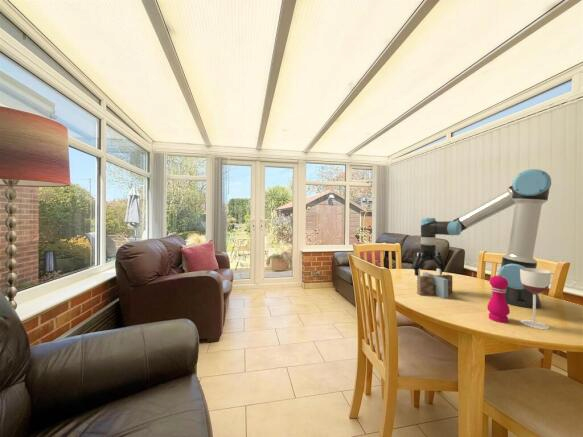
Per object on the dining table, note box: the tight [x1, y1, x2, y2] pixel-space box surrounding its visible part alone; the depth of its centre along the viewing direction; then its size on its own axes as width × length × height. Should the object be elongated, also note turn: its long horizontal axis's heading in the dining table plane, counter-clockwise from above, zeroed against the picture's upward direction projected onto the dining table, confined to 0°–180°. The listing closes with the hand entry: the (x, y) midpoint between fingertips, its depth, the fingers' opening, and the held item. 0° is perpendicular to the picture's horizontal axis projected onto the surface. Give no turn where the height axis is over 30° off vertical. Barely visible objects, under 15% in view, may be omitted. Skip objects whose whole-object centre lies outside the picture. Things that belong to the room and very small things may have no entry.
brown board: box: [416, 274, 453, 296], centre depth 135 cm, size 20×2×10 cm, turn 99°
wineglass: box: [519, 268, 552, 330], centre depth 97 cm, size 9×10×22 cm
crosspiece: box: [422, 271, 449, 299], centre depth 135 cm, size 16×2×10 cm, turn 9°
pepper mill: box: [486, 272, 511, 324], centre depth 102 cm, size 7×7×20 cm
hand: (428, 280), depth 140 cm, fingers open, 13 cm apart
